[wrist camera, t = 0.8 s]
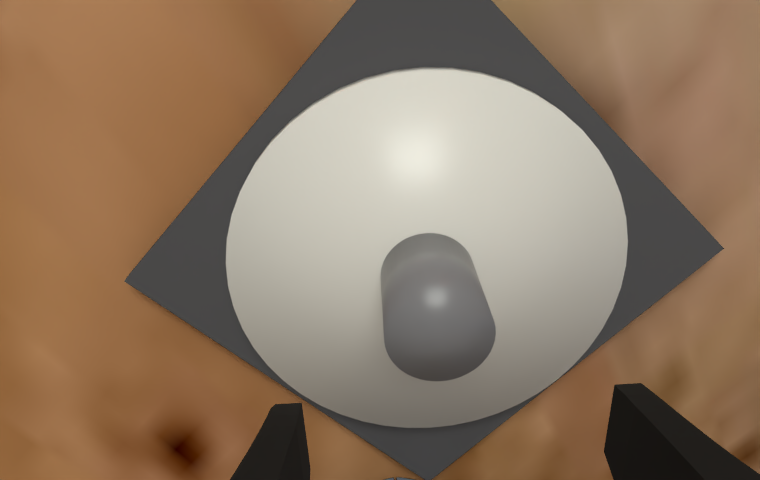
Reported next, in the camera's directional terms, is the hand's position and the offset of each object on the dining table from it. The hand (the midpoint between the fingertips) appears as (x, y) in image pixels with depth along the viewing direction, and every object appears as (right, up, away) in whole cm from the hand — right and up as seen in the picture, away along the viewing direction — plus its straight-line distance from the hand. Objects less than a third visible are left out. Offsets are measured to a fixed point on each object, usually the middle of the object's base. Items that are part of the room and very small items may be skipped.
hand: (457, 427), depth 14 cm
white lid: (0, +3, +7) cm, 8 cm away
